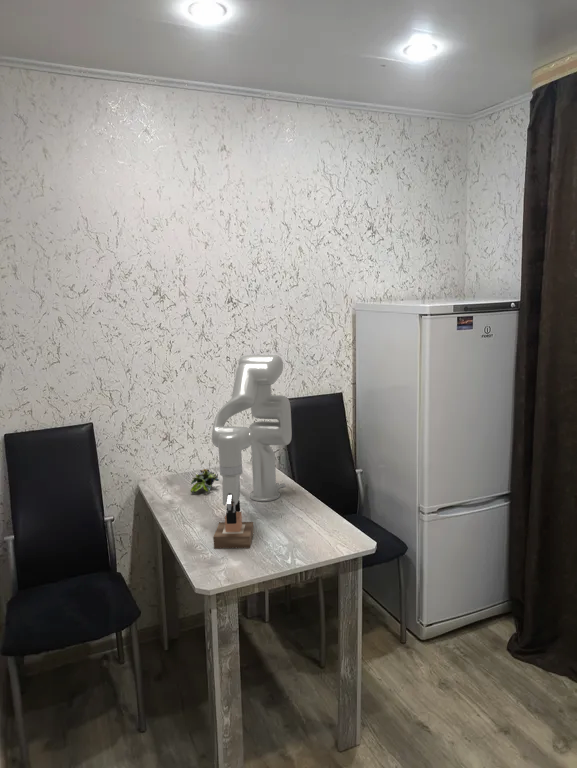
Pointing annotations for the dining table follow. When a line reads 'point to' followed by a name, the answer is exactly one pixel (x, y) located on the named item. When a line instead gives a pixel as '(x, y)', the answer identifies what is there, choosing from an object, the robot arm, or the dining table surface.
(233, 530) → the terracotta cube
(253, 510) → the dining table surface
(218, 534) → the walnut frame
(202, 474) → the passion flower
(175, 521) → the dining table surface
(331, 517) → the dining table surface
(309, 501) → the dining table surface
